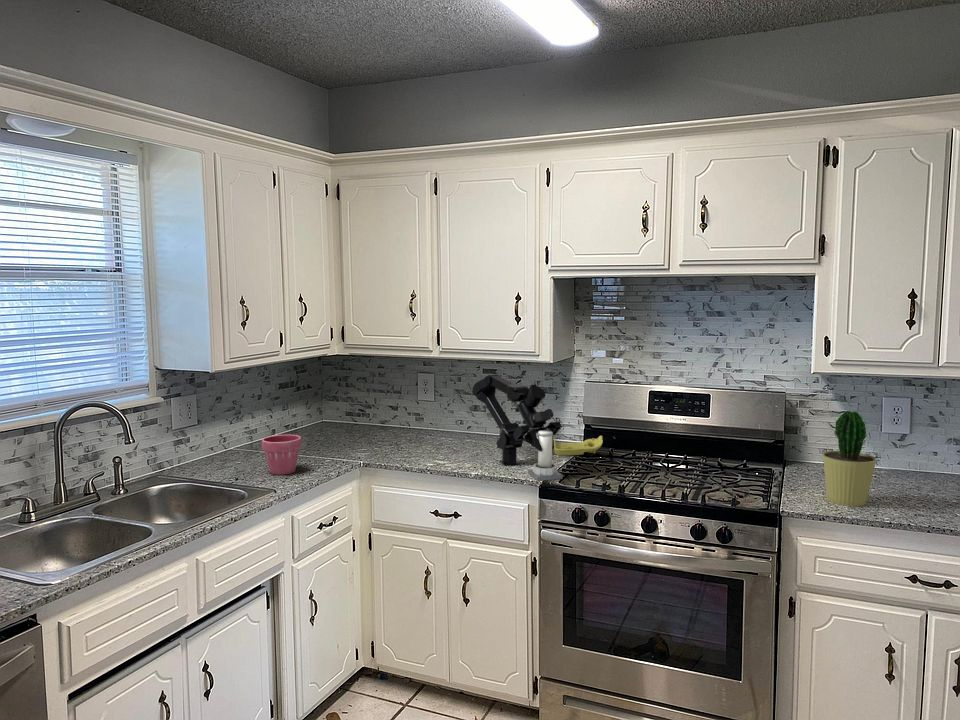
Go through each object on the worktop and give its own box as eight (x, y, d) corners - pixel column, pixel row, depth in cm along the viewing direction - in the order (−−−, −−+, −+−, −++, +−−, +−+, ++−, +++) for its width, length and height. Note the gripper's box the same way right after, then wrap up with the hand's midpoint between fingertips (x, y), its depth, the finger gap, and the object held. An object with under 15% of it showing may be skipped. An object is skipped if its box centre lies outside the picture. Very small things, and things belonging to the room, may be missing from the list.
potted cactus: (871, 497, 237) (876, 407, 234) (876, 510, 223) (881, 415, 220) (819, 491, 243) (824, 404, 240) (821, 504, 229) (825, 411, 226)
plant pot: (258, 469, 272) (257, 436, 270) (295, 465, 279) (294, 432, 277) (268, 478, 259) (267, 443, 258) (306, 473, 267) (305, 439, 265)
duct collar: (527, 474, 266) (527, 463, 265) (552, 472, 268) (552, 461, 268) (537, 480, 256) (537, 470, 256) (562, 478, 259) (562, 467, 259)
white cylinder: (538, 464, 265) (539, 429, 264) (553, 465, 264) (553, 430, 263) (536, 468, 260) (537, 432, 259) (550, 469, 259) (551, 433, 258)
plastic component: (553, 450, 293) (553, 435, 302) (555, 464, 297) (555, 449, 306) (603, 448, 291) (601, 433, 299) (603, 462, 294) (602, 446, 303)
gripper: (518, 404, 258) (536, 440, 250) (559, 399, 268) (578, 434, 260) (505, 422, 265) (522, 457, 257) (546, 417, 275) (563, 451, 267)
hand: (547, 449), depth 260 cm, fingers closed on white cylinder, 5 cm apart
